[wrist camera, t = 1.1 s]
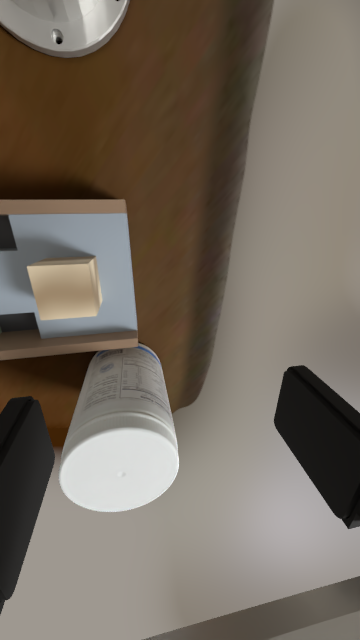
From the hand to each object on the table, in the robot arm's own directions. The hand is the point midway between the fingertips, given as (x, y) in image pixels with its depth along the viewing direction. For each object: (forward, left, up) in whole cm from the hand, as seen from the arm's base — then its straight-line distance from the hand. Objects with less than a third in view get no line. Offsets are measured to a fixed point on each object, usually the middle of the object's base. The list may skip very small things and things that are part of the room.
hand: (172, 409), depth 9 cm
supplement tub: (+12, -3, -21) cm, 24 cm away
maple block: (-1, -7, -18) cm, 19 cm away
